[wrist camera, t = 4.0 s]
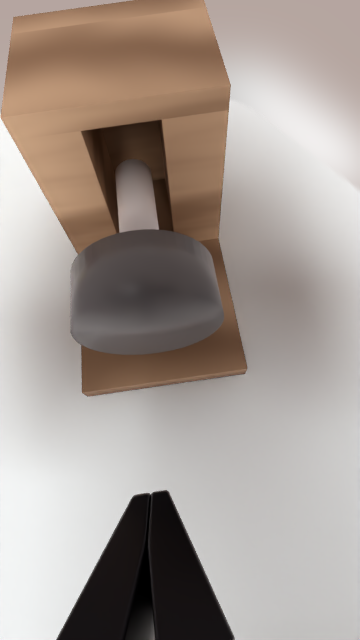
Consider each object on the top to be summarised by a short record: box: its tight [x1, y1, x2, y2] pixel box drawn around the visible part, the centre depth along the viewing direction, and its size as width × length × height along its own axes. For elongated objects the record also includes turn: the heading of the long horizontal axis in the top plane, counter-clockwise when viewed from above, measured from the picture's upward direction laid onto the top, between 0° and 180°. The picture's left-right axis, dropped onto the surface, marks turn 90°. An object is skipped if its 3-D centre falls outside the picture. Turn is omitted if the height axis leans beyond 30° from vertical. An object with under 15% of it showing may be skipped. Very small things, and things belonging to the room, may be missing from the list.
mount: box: [1, 0, 247, 396], centre depth 18 cm, size 16×9×10 cm, turn 8°
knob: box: [71, 159, 224, 355], centre depth 15 cm, size 8×6×6 cm
